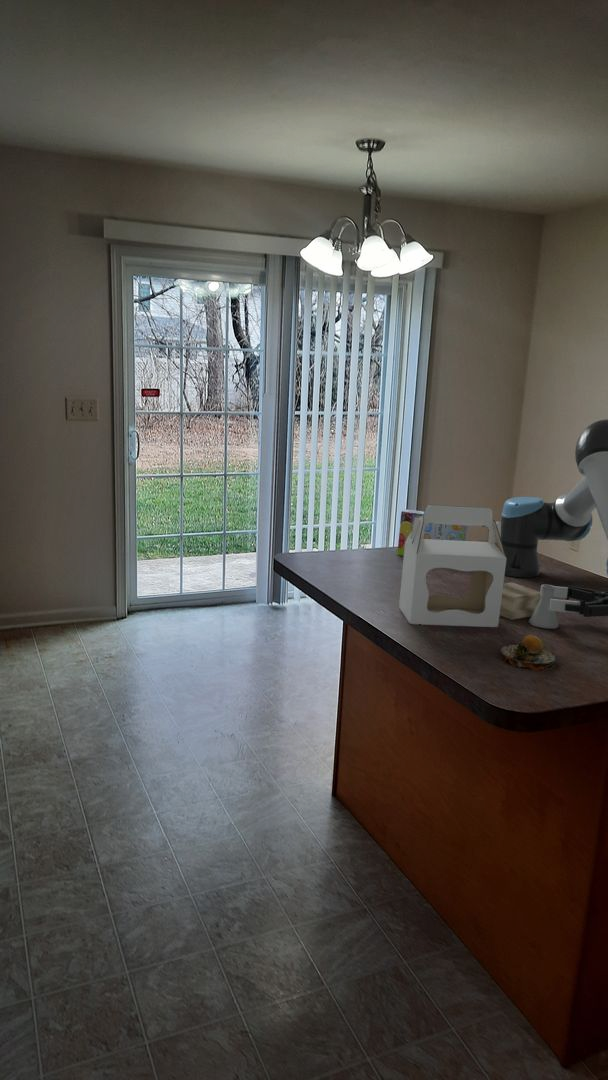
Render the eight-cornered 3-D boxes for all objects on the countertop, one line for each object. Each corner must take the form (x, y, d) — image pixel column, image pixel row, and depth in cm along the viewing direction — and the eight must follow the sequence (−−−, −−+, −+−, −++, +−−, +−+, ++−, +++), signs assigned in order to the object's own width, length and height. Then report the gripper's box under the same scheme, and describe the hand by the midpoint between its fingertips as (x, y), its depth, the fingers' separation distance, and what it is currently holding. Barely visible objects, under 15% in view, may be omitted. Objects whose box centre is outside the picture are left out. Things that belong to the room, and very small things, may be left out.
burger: (545, 652, 172) (549, 620, 171) (564, 673, 161) (569, 638, 159) (491, 649, 172) (495, 617, 170) (507, 670, 160) (511, 636, 159)
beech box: (509, 603, 207) (512, 582, 206) (539, 615, 199) (542, 593, 198) (481, 607, 202) (484, 585, 201) (511, 619, 193) (513, 596, 192)
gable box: (482, 611, 200) (495, 504, 194) (499, 627, 187) (513, 513, 181) (397, 607, 198) (408, 499, 192) (408, 624, 185) (420, 509, 179)
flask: (560, 631, 187) (565, 591, 185) (529, 627, 189) (534, 588, 186) (556, 622, 194) (562, 584, 192) (527, 618, 196) (532, 580, 193)
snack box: (463, 562, 252) (468, 516, 249) (459, 565, 247) (464, 519, 244) (401, 552, 260) (405, 508, 257) (396, 555, 255) (400, 510, 252)
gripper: (648, 636, 176) (552, 626, 178) (619, 606, 200) (535, 599, 203) (653, 604, 174) (556, 595, 177) (623, 578, 199) (538, 571, 201)
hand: (544, 597), depth 190 cm, fingers open, 13 cm apart
